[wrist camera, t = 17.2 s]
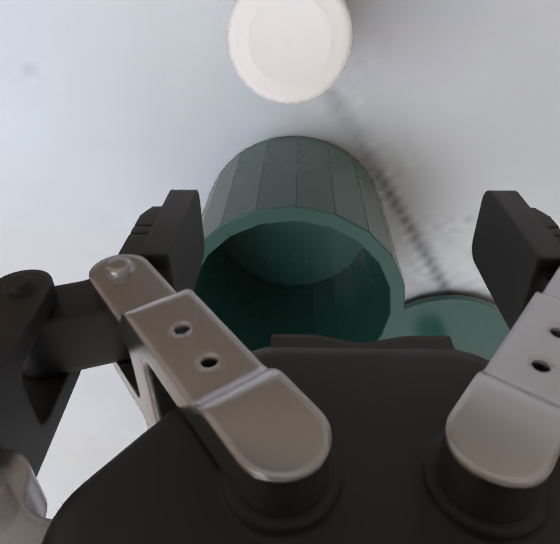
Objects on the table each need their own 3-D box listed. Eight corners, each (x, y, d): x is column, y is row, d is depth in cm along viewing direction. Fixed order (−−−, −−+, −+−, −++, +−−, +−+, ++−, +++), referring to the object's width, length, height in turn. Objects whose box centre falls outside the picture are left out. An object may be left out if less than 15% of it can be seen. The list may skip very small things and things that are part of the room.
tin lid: (500, 267, 39) (530, 318, 33) (532, 382, 45) (561, 440, 40) (334, 321, 42) (339, 375, 37) (387, 420, 49) (396, 478, 44)
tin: (342, 104, 32) (357, 168, 23) (403, 256, 38) (432, 352, 30) (175, 180, 36) (134, 260, 27) (256, 308, 42) (243, 408, 33)
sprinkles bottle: (280, 56, 31) (265, 128, 20) (240, -19, 29) (199, 13, 17) (348, 16, 29) (375, 68, 18) (312, -67, 27) (317, -65, 16)
